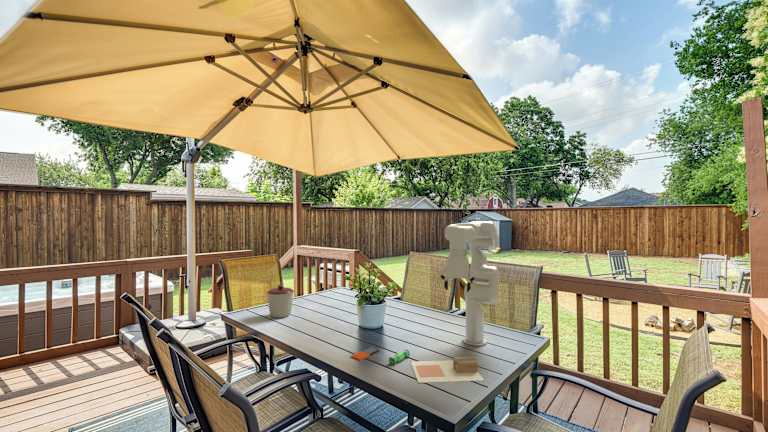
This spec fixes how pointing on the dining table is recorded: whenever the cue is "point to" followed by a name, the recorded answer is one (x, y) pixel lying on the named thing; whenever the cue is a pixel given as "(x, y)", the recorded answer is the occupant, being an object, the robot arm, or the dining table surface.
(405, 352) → the candy
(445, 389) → the dining table surface
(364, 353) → the orange grey slab
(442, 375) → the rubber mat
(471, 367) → the walnut card box
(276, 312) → the canister
